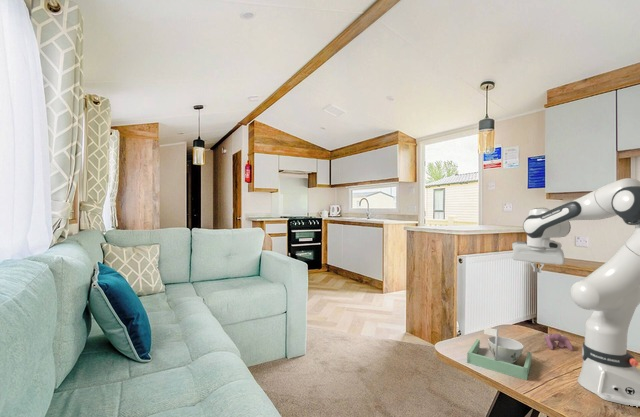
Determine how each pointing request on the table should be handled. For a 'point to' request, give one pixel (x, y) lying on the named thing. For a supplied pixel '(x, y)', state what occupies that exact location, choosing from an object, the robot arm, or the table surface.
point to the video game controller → (562, 340)
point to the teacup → (506, 349)
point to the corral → (496, 364)
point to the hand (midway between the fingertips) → (537, 272)
